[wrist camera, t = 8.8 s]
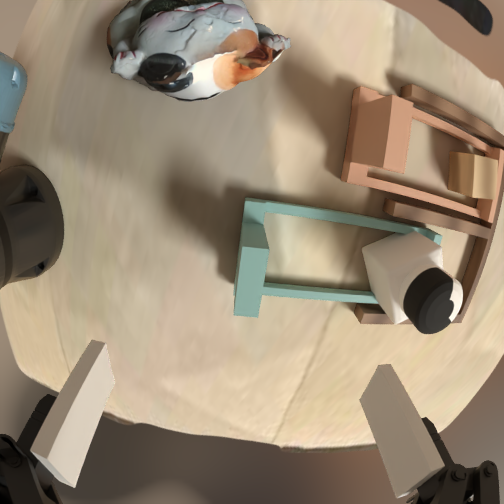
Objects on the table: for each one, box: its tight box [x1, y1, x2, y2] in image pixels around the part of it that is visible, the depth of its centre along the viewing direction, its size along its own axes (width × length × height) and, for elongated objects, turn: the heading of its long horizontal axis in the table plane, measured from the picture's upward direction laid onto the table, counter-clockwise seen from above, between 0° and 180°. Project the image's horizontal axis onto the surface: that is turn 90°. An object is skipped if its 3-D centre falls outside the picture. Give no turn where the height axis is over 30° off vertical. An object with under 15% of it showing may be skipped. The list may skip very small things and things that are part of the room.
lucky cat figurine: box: [107, 0, 291, 102], centre depth 18 cm, size 15×12×14 cm
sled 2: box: [341, 86, 504, 223], centre depth 23 cm, size 23×10×9 cm, turn 82°
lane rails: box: [354, 84, 504, 324], centre depth 29 cm, size 19×28×2 cm
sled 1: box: [234, 197, 442, 318], centre depth 27 cm, size 23×10×9 cm, turn 82°
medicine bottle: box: [362, 231, 463, 334], centre depth 26 cm, size 7×7×12 cm
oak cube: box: [448, 151, 498, 200], centre depth 26 cm, size 5×5×5 cm
